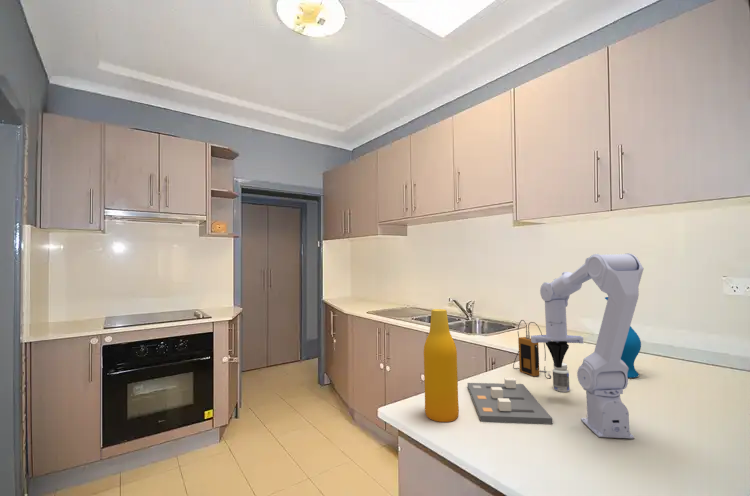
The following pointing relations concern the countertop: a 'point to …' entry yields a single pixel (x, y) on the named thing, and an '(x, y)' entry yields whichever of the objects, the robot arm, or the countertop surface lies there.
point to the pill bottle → (561, 378)
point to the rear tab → (510, 382)
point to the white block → (504, 404)
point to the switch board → (521, 405)
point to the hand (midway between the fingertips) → (557, 366)
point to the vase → (631, 351)
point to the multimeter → (529, 355)
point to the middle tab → (496, 392)
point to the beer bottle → (440, 370)
